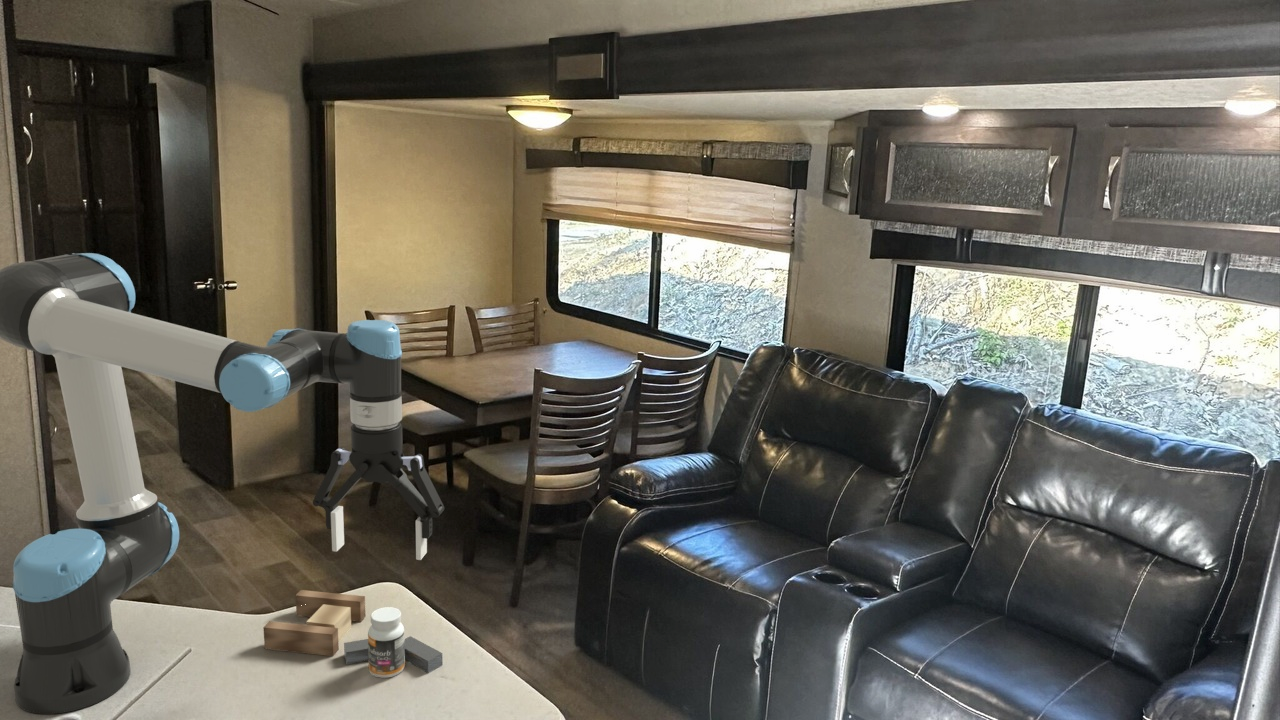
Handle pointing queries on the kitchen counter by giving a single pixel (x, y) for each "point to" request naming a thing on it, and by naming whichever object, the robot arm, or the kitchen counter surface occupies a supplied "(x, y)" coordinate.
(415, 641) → the v block
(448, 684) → the kitchen counter surface
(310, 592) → the channel
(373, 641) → the pill bottle
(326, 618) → the block
